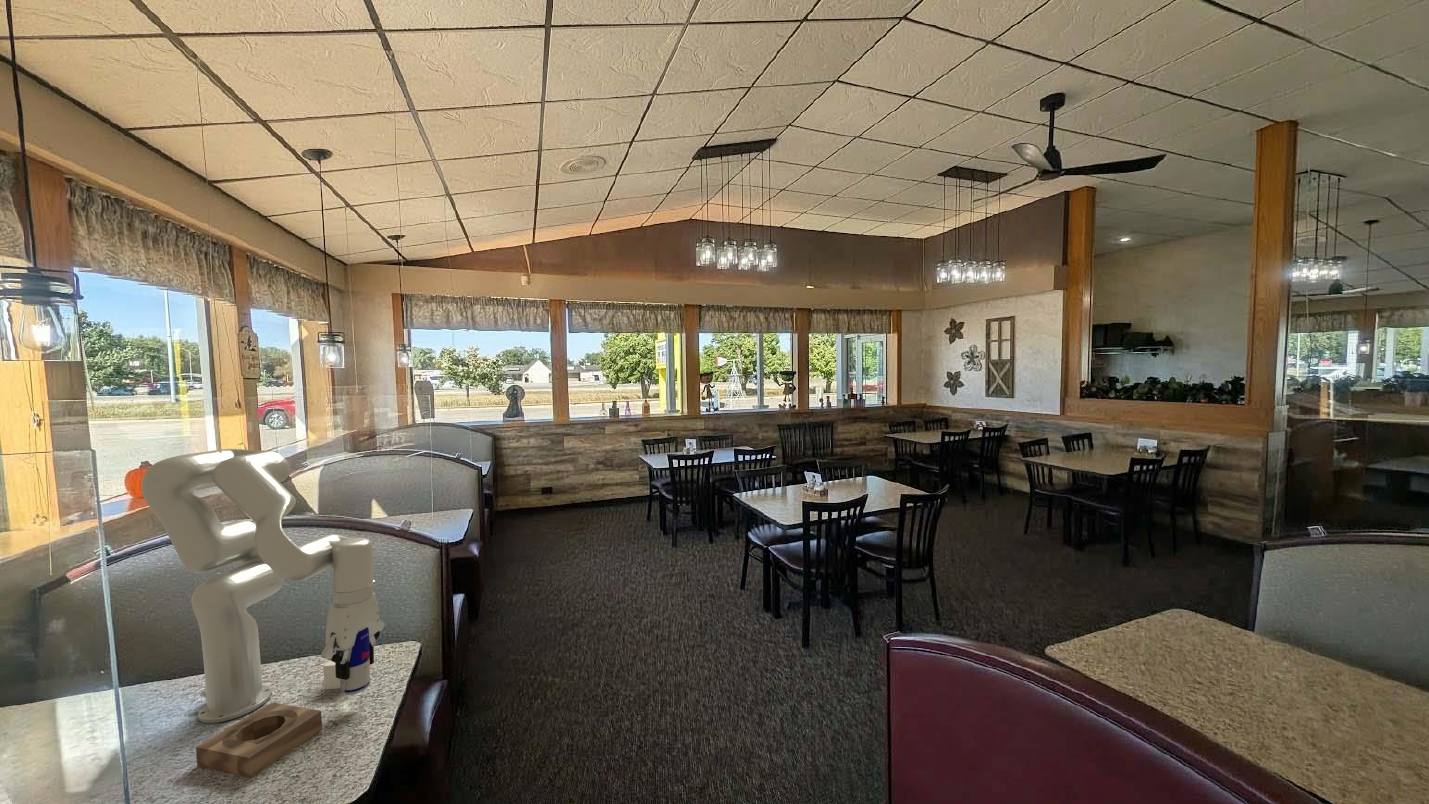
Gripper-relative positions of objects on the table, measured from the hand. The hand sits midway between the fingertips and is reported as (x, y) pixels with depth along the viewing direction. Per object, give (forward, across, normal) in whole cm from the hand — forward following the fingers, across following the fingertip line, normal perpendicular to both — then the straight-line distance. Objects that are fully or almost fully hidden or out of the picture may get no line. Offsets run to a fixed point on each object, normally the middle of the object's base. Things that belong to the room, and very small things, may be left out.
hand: (355, 669), depth 119 cm
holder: (+9, +15, -7) cm, 19 cm away
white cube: (+9, -7, -11) cm, 16 cm away
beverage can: (+5, 0, 0) cm, 5 cm away
